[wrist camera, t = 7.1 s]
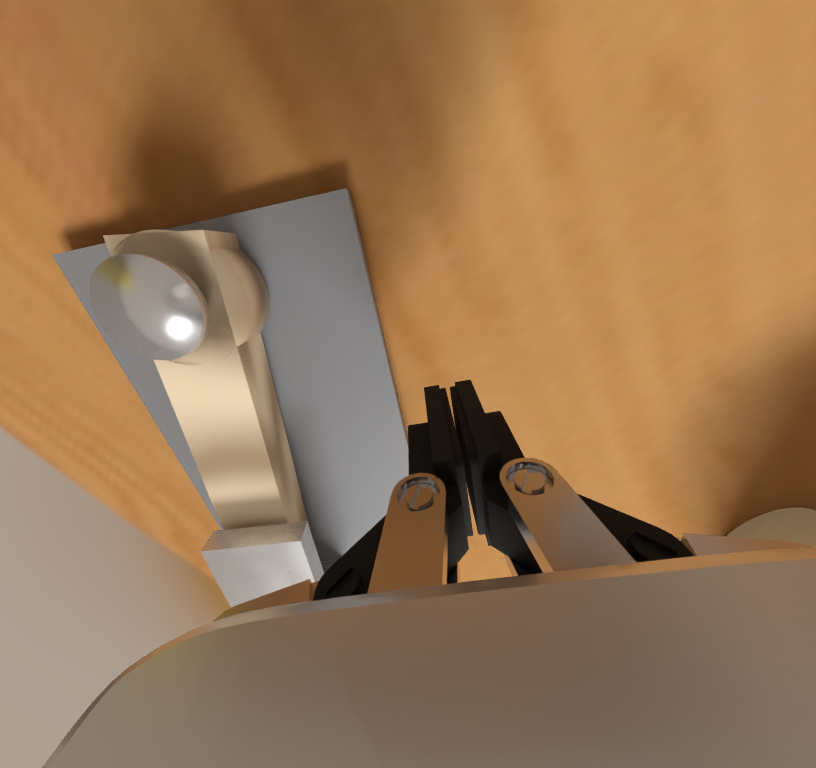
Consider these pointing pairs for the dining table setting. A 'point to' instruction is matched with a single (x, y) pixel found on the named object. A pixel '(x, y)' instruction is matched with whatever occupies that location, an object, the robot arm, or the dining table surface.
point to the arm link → (227, 381)
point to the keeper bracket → (263, 559)
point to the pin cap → (149, 306)
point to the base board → (302, 361)
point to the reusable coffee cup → (781, 526)
